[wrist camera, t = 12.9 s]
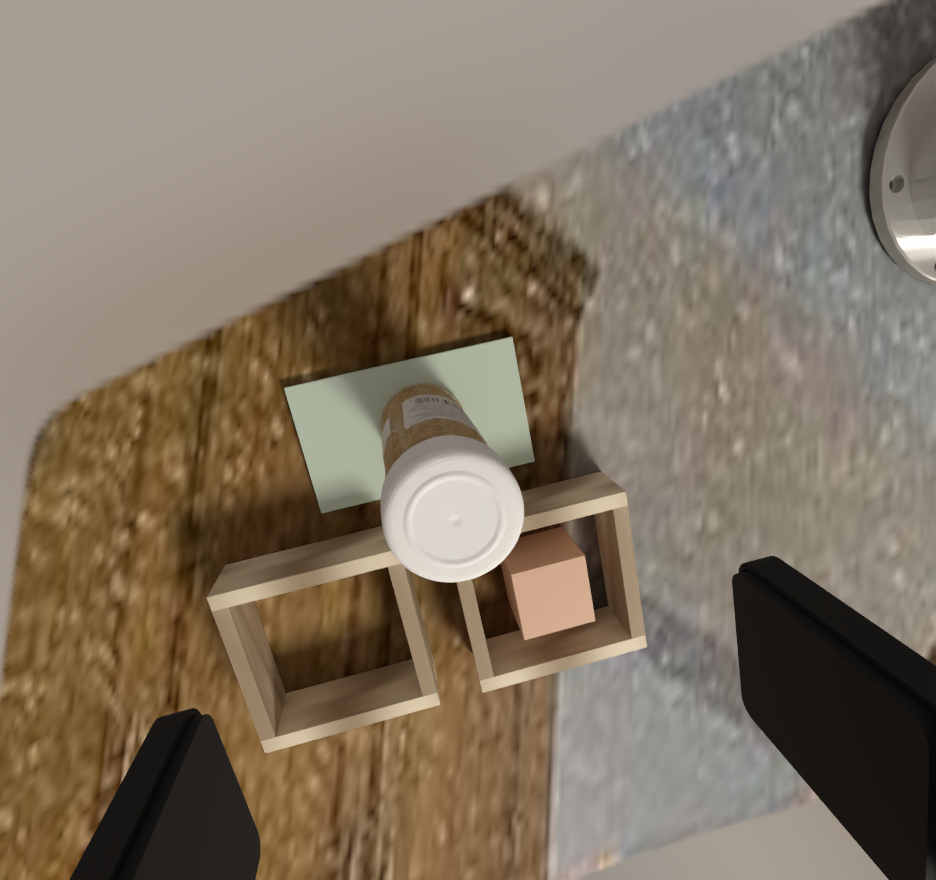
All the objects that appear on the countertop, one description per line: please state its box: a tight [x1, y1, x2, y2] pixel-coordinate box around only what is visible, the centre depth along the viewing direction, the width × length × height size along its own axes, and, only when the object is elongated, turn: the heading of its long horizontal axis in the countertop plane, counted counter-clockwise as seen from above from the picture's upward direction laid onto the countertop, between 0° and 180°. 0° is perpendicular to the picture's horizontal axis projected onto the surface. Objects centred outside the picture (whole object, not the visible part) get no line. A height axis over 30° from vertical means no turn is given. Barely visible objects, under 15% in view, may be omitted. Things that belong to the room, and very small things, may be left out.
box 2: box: [456, 471, 647, 693], centre depth 32 cm, size 10×10×4 cm
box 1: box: [207, 526, 440, 753], centre depth 31 cm, size 10×10×4 cm
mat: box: [284, 337, 535, 514], centre depth 31 cm, size 12×7×1 cm, turn 102°
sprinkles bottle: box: [380, 383, 524, 582], centre depth 24 cm, size 5×5×14 cm
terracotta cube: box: [501, 527, 595, 640], centre depth 32 cm, size 4×4×4 cm
